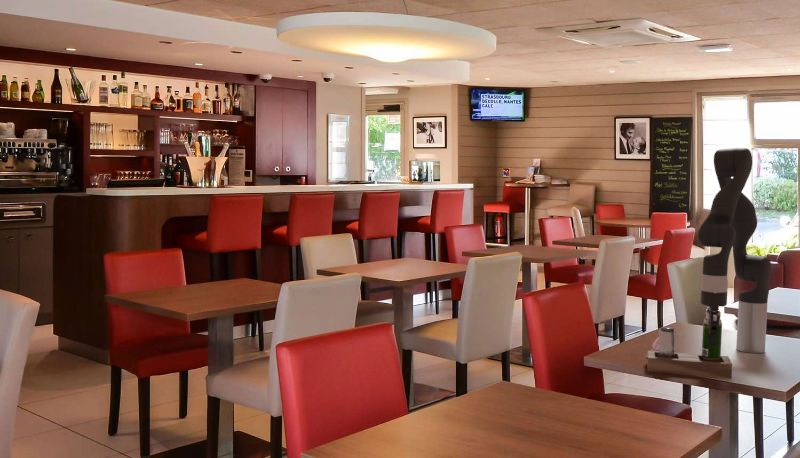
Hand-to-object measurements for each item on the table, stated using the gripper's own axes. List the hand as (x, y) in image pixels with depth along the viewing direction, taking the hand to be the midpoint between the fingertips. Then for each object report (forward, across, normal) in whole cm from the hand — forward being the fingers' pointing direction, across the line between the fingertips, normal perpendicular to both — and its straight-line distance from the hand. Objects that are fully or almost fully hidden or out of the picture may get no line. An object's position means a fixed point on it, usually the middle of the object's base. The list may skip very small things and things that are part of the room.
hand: (711, 344), depth 251 cm
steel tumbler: (+9, 0, -13) cm, 16 cm away
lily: (+10, -16, -15) cm, 24 cm away
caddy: (+9, 0, -6) cm, 11 cm away
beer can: (+5, 0, 0) cm, 5 cm away
